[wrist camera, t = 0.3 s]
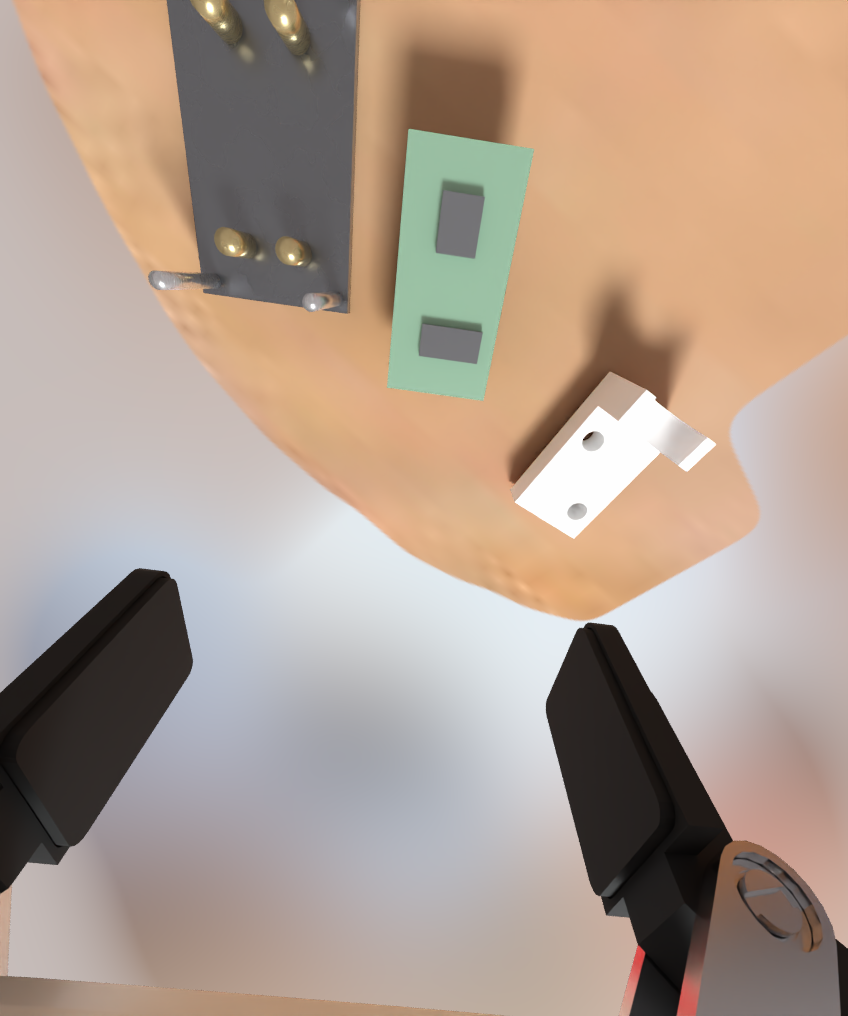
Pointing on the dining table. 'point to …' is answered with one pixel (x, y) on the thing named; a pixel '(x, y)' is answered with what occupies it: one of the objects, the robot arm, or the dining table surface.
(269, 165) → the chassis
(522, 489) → the bracket
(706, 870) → the robot arm
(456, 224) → the board
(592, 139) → the dining table surface
